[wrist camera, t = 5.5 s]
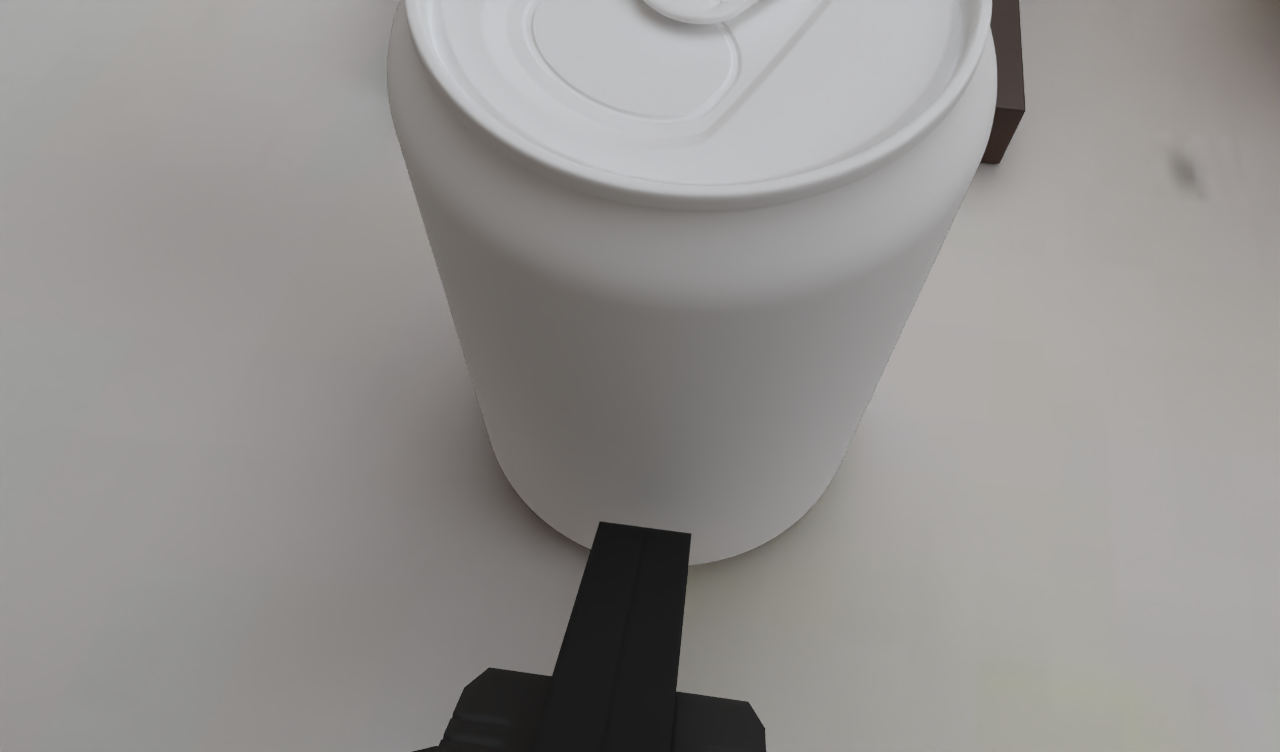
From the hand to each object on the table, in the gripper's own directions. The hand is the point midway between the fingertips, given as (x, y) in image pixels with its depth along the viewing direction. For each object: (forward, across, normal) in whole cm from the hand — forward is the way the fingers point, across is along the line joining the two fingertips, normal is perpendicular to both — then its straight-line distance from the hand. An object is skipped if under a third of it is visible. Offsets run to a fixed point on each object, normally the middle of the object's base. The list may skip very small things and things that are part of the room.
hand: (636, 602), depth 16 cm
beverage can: (+7, 0, +1) cm, 7 cm away
